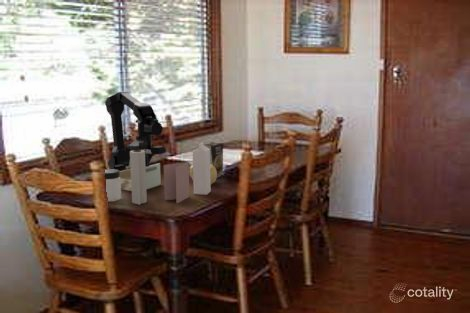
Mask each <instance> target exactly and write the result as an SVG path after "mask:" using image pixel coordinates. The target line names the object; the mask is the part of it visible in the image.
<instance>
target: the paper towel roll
mask: <svg viewBox="0 0 470 313" xmlns="http://www.w3.org/2000/svg"><path fill="white" fill-rule="evenodd" d="M129 154H130V162H129V167H130V168H131V189H132V191H131V203H132V204H135V205H139V206H141V204H145V203H147V202H148V200H147V199H148V197H147V196H148V194H147V189H146V167H145V151H144V150H133V151H130V152H129Z"/></svg>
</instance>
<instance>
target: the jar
mask: <svg viewBox="0 0 470 313" xmlns="http://www.w3.org/2000/svg"><path fill="white" fill-rule="evenodd" d="M104 170H105V178H106V192H107V197H108V201H107V202H117V201H119V200H122V189H121V180H120V173H119V170H116V169H112V168H109V169H104Z"/></svg>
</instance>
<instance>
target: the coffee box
mask: <svg viewBox="0 0 470 313" xmlns="http://www.w3.org/2000/svg"><path fill="white" fill-rule="evenodd" d="M203 145H204V146H206V147H207V148H209V149H210V163H211V164H212V165H213V166H214V167H215V168H216V171H217V178H220V177H222V176H221V175H223V176H224V143H222V142H209V143H206V144H203Z"/></svg>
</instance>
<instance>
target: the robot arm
mask: <svg viewBox="0 0 470 313" xmlns="http://www.w3.org/2000/svg"><path fill="white" fill-rule="evenodd" d="M104 104H105V105H104V106H106V111H107V113H108V114H109V116H110V120H111V130H112V138H113V141H112V142H113V147H112V150H111V152H110V154H111V156H110V159H109V160H108V162H107V164H108V168H109V169H116V170H119V171H123V170H126V169H127V167H130V151H133V150H144V151H145V167H147V166H150V163H151V161H152V158H153V157H154V155H161V154H165V153H166V151H167V149H166V147H165V146H163V145H155V146H154V144H153V143H152V142H153V141H152V139H153V138H154V136H156V137H157V136H158V137H159V136H160V135H161V134H162V133H163V131H164V130H163V129H164V128H163V125H162V124H161V123H160V122H159V119H158V118H157V115H156V113H155V111H154V109H153V107H152V105H151V104H148V103H145V102H141V101H139V100H138V99H137V98H135V97H134V96H132V95H131V94H130V93H129V92H128V91H118V92H116V93H115V94H112V95H110V96H109V97H107V98H106V99H105V101H104ZM125 106H127V107H128V108H130V110H132V113H133V115H134V117H135V118H137V119H136V120H135V123H136V124H137V135H136V137H135V140H134V141H132V142H131V143H130V144H127V145H125V137H124V127H123V118H122V115H123V113H124V110H125Z"/></svg>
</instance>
